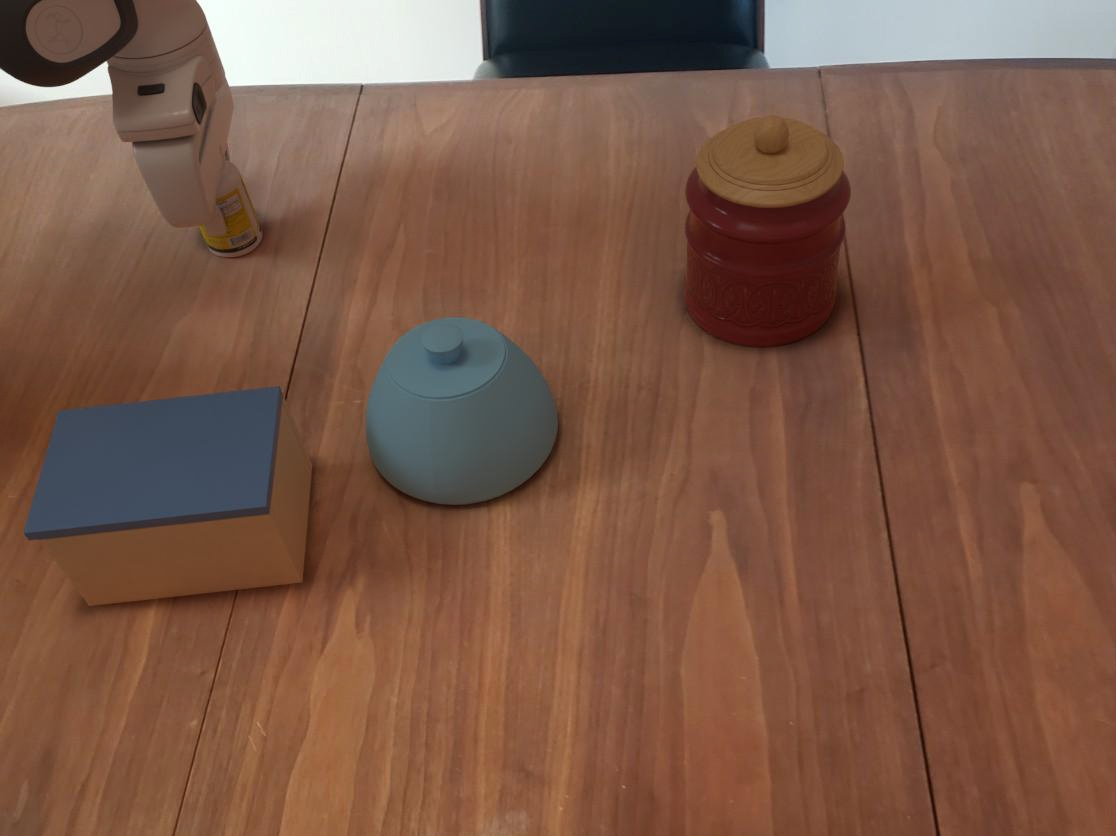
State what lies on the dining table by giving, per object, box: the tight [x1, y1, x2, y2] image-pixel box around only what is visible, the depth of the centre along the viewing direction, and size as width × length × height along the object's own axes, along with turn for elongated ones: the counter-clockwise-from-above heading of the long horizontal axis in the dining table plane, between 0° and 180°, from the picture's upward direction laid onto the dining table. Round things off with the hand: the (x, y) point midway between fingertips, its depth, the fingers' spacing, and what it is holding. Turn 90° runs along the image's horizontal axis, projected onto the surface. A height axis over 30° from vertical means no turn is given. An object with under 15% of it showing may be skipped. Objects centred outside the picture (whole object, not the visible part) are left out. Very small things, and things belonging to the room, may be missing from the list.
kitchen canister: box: [684, 114, 852, 348], centre depth 88 cm, size 13×13×18 cm
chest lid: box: [23, 386, 284, 541], centre depth 75 cm, size 16×12×1 cm
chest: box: [38, 394, 313, 607], centre depth 79 cm, size 16×12×9 cm
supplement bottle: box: [198, 146, 263, 258], centre depth 101 cm, size 5×5×10 cm
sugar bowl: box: [365, 316, 559, 506], centre depth 82 cm, size 15×15×12 cm
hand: (223, 209), depth 102 cm, fingers closed on supplement bottle, 5 cm apart
